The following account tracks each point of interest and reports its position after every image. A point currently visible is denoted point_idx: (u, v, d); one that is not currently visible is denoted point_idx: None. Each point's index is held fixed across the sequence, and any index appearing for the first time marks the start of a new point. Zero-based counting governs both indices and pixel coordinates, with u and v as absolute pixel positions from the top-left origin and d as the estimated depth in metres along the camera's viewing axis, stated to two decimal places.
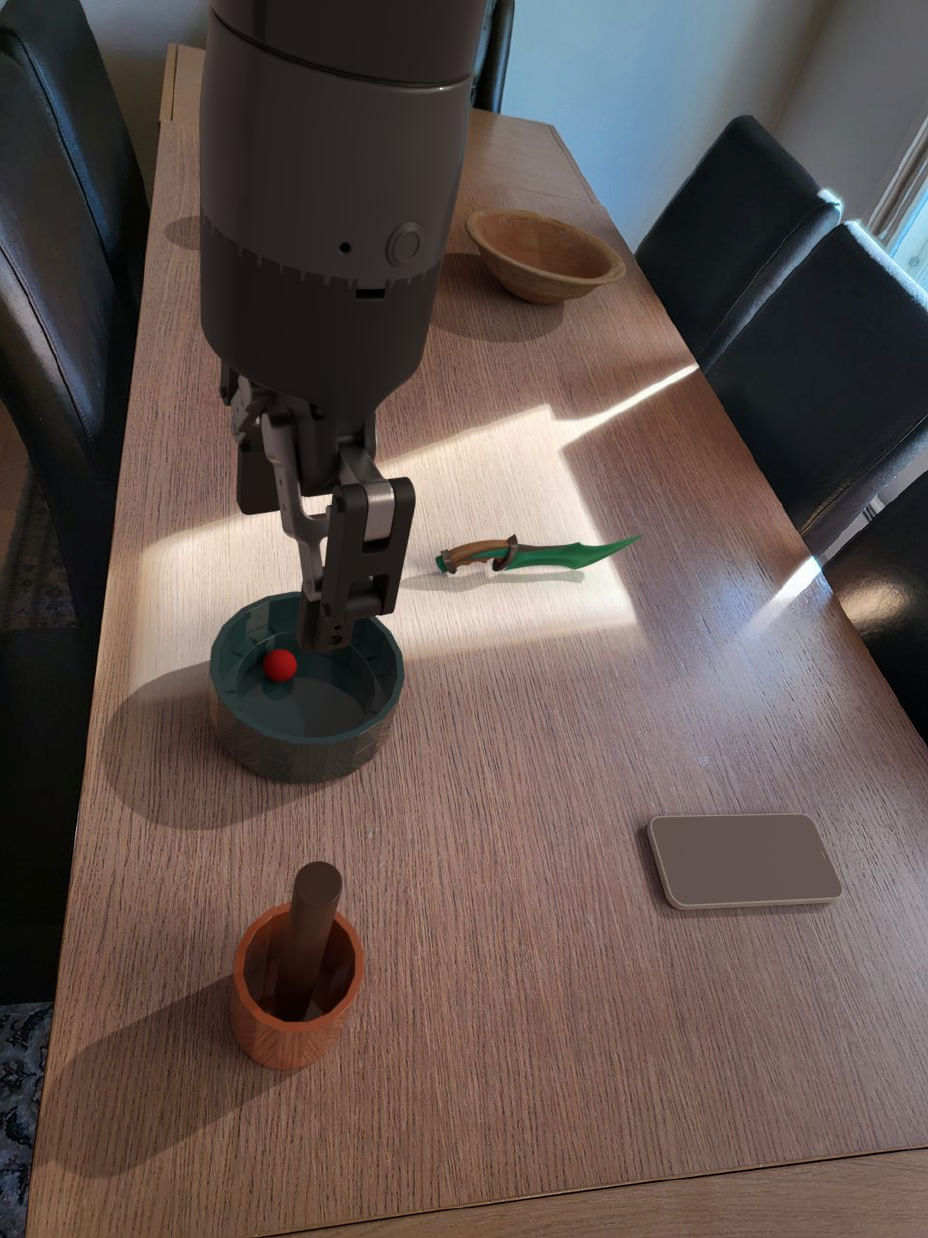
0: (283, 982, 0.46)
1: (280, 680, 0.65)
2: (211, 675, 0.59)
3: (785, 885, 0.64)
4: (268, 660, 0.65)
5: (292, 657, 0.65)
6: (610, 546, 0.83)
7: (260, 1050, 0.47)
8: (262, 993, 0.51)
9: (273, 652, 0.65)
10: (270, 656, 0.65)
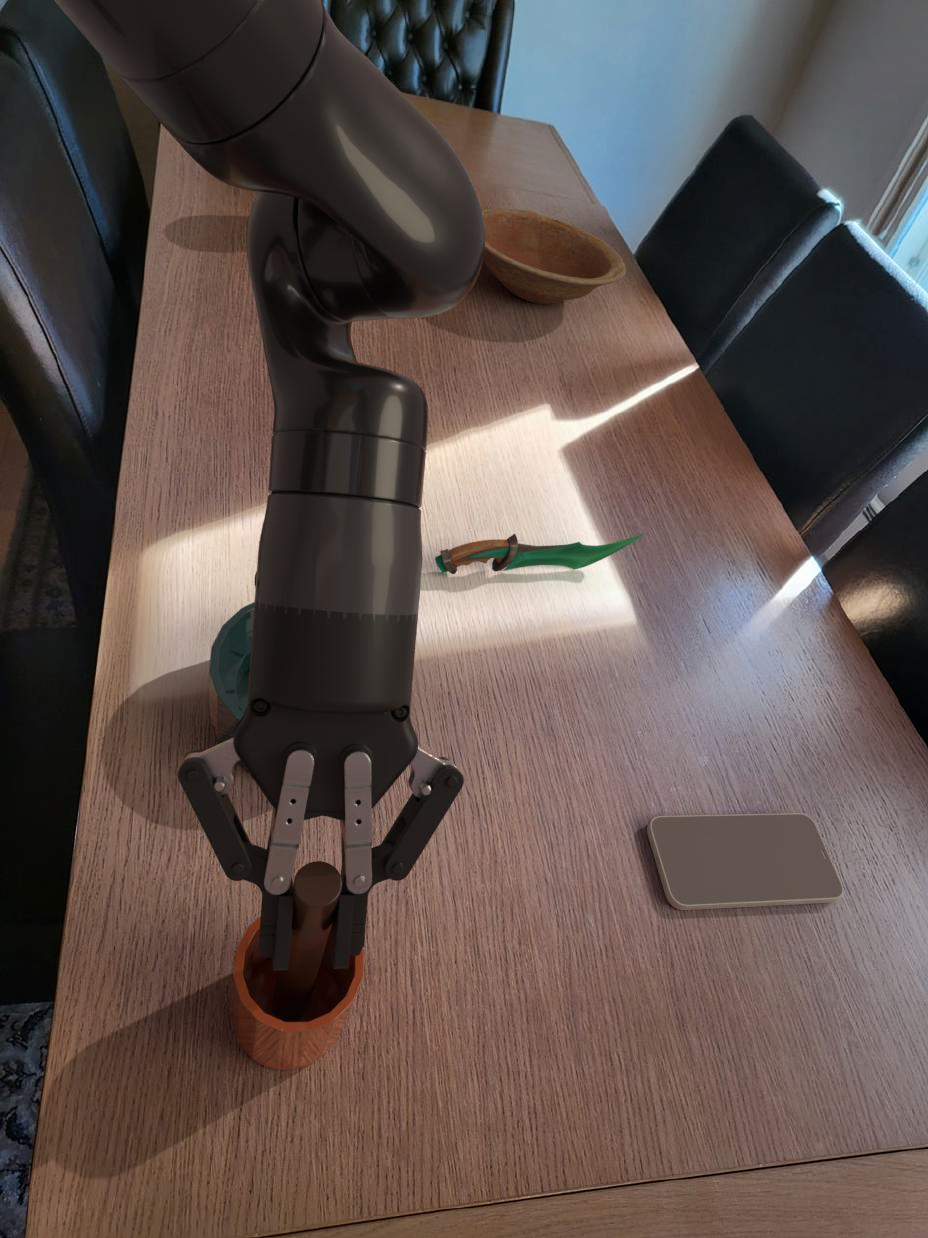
0: (283, 982, 0.46)
1: None
2: (211, 675, 0.59)
3: (785, 885, 0.64)
4: None
5: None
6: (610, 546, 0.83)
7: (260, 1050, 0.47)
8: (262, 993, 0.51)
9: None
10: None
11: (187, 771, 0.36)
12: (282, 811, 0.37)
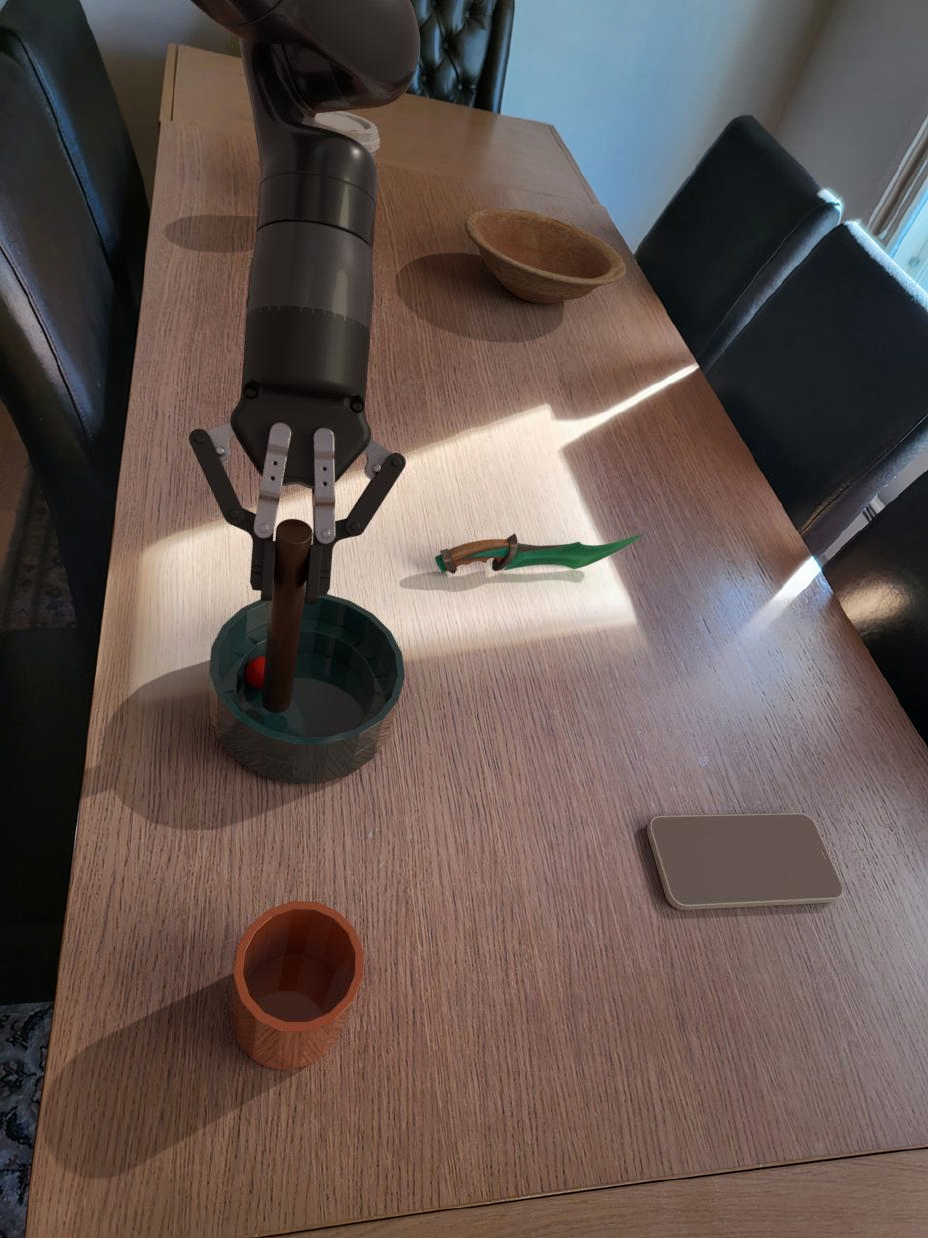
0: (269, 655, 0.58)
1: (252, 684, 0.64)
2: (211, 675, 0.59)
3: (785, 885, 0.64)
4: (249, 663, 0.65)
5: None
6: (610, 546, 0.83)
7: (260, 1050, 0.47)
8: (262, 993, 0.51)
9: None
10: None
11: (196, 435, 0.49)
12: (267, 470, 0.49)
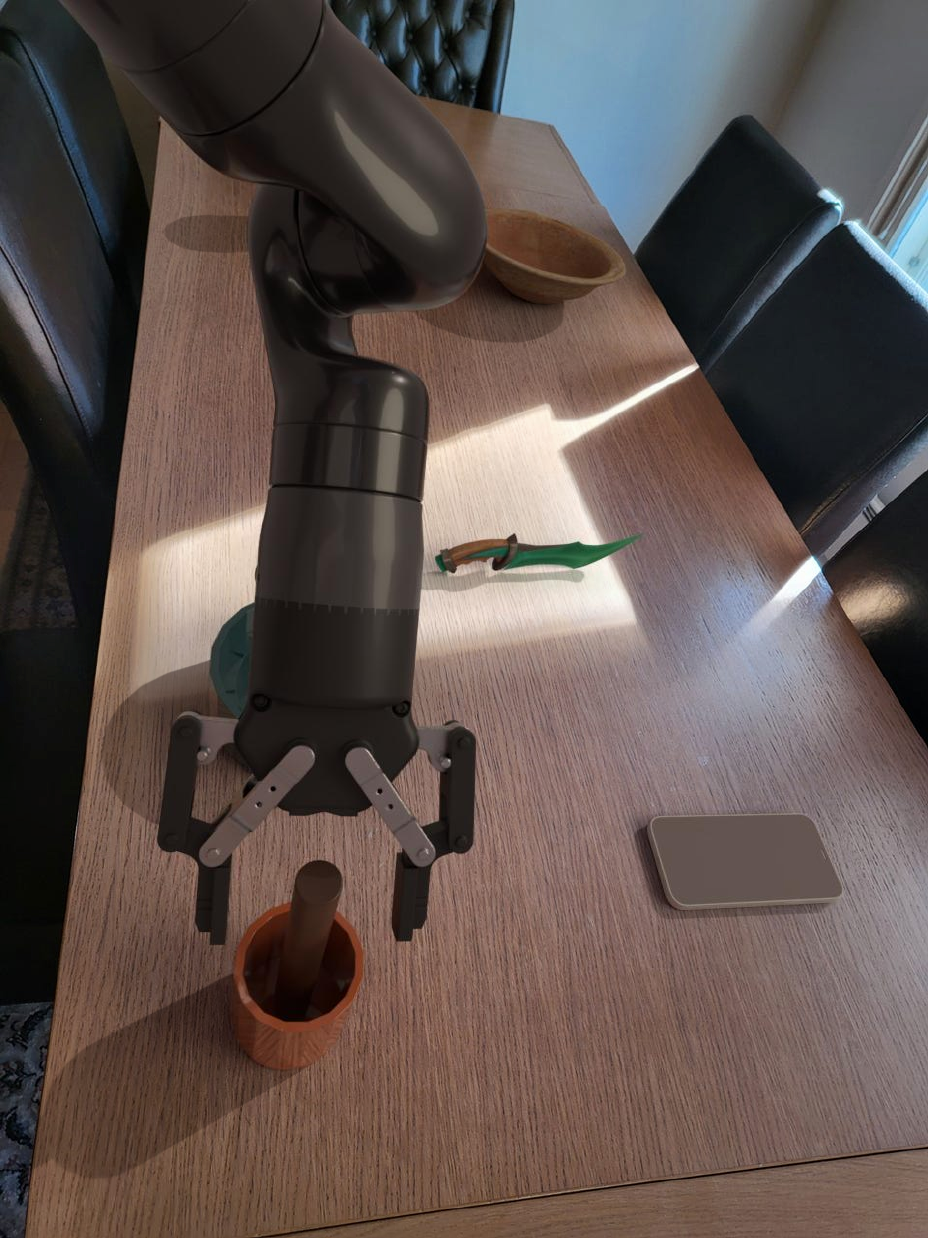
0: (283, 981, 0.46)
1: None
2: (211, 675, 0.59)
3: (785, 885, 0.64)
4: None
5: None
6: (610, 545, 0.83)
7: (260, 1050, 0.47)
8: (262, 993, 0.51)
9: None
10: None
11: (183, 726, 0.36)
12: (258, 792, 0.36)
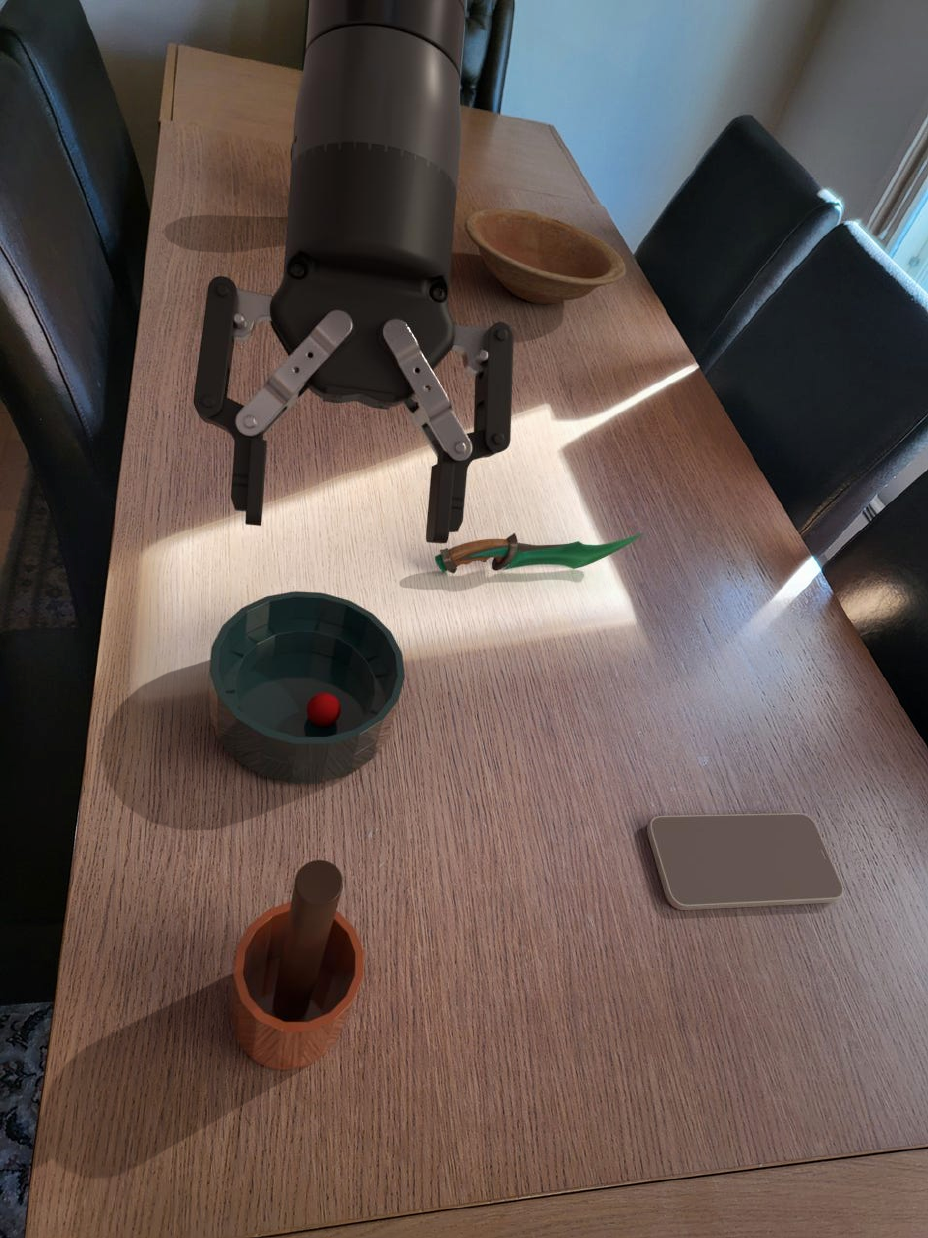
0: (283, 981, 0.46)
1: (316, 721, 0.63)
2: (211, 675, 0.59)
3: (785, 885, 0.64)
4: None
5: None
6: (610, 545, 0.83)
7: (260, 1050, 0.47)
8: (262, 993, 0.51)
9: None
10: None
11: (220, 283, 0.35)
12: (295, 356, 0.36)
